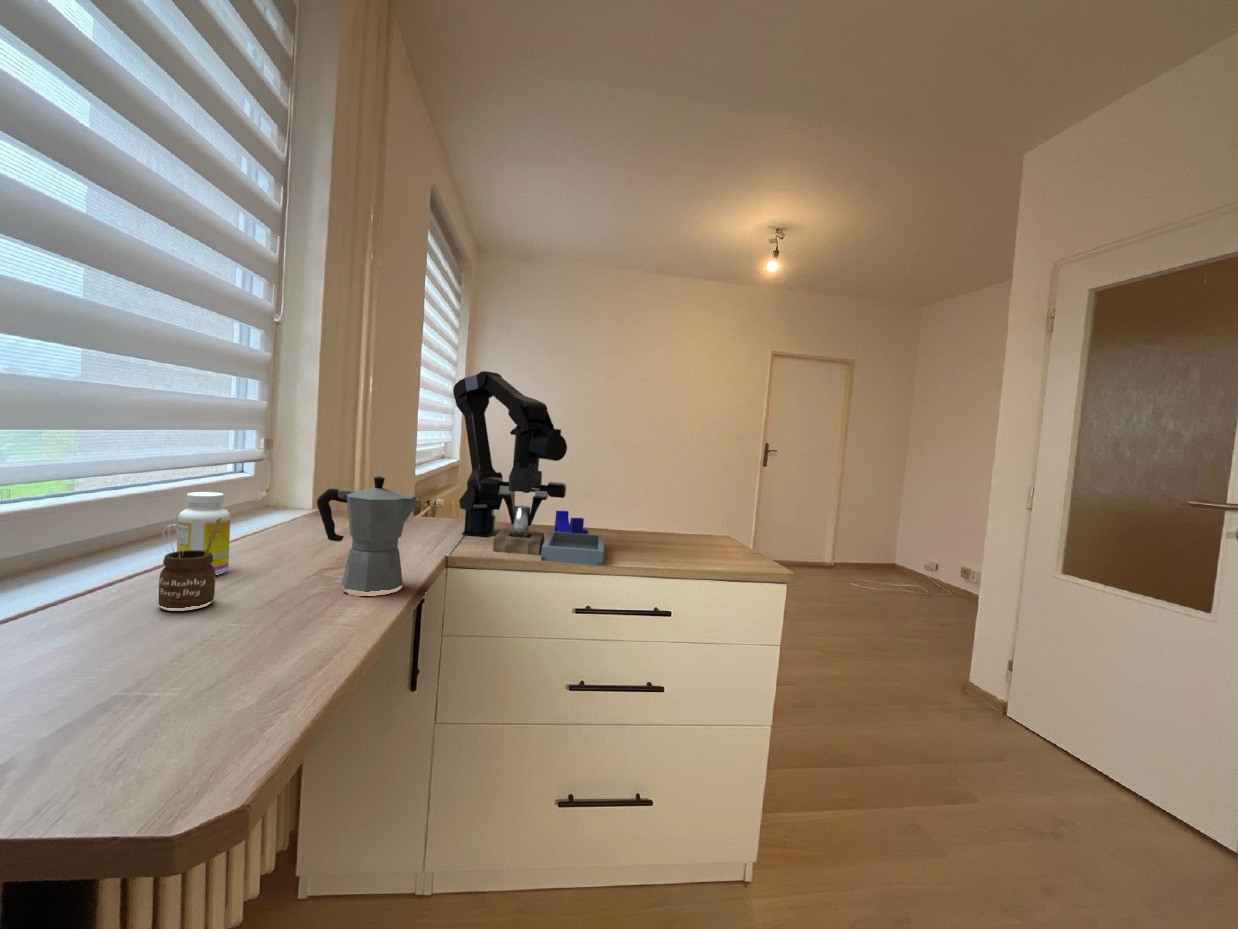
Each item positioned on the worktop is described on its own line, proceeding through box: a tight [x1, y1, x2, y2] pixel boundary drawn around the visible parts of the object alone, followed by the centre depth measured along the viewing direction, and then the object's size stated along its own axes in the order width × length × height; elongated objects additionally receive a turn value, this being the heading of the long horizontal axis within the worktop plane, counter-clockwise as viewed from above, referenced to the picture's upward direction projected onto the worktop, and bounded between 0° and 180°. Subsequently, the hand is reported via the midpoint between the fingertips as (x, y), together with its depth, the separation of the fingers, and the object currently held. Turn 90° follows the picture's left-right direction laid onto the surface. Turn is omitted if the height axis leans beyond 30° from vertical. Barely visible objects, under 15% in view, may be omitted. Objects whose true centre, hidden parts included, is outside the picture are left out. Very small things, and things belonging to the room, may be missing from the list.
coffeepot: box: [316, 476, 423, 592], centre depth 87 cm, size 15×9×18 cm, turn 101°
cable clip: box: [554, 510, 589, 534], centre depth 143 cm, size 12×4×6 cm, turn 27°
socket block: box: [492, 529, 545, 556], centre depth 125 cm, size 10×10×3 cm
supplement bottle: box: [176, 491, 231, 575], centre depth 87 cm, size 7×7×13 cm
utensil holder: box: [158, 517, 222, 608], centre depth 73 cm, size 6×6×12 cm
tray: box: [540, 530, 605, 566], centre depth 124 cm, size 13×18×3 cm
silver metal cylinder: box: [512, 505, 531, 538], centre depth 125 cm, size 4×4×8 cm
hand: (521, 524), depth 125 cm, fingers closed on silver metal cylinder, 3 cm apart
